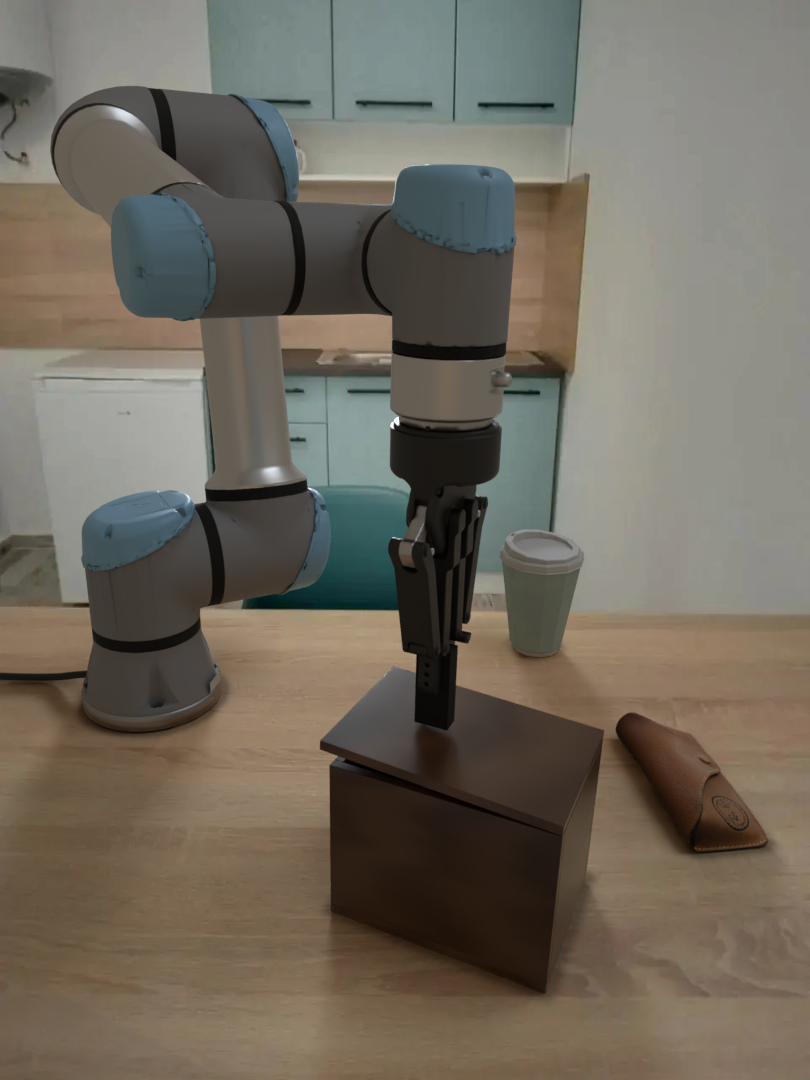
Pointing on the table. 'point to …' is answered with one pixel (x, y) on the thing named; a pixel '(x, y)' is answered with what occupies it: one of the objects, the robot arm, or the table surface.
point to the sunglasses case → (690, 786)
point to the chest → (456, 871)
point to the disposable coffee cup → (539, 588)
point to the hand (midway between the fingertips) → (434, 721)
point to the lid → (472, 750)
